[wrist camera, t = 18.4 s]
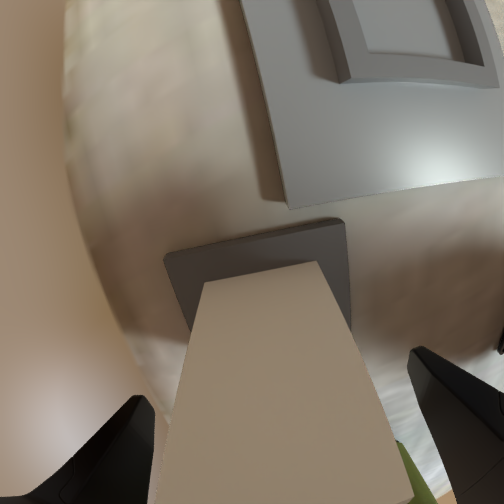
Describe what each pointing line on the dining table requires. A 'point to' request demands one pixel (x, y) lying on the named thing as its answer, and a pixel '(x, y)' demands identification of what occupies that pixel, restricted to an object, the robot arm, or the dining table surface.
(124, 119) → the dining table surface
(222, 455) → the plug
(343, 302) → the rubber pad
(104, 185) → the dining table surface
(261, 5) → the socket board
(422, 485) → the plant pot
